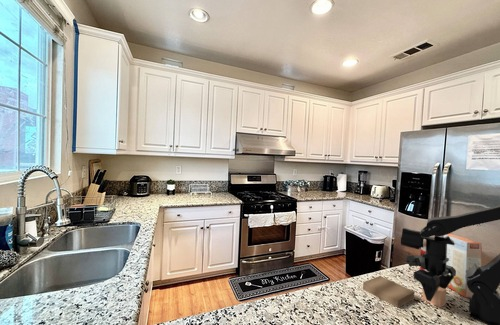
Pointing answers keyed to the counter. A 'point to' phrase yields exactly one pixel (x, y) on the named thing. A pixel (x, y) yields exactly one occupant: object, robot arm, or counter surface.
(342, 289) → the counter surface
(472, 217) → the robot arm
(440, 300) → the cube
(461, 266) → the cracker box
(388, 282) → the base slab
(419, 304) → the counter surface
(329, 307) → the counter surface
